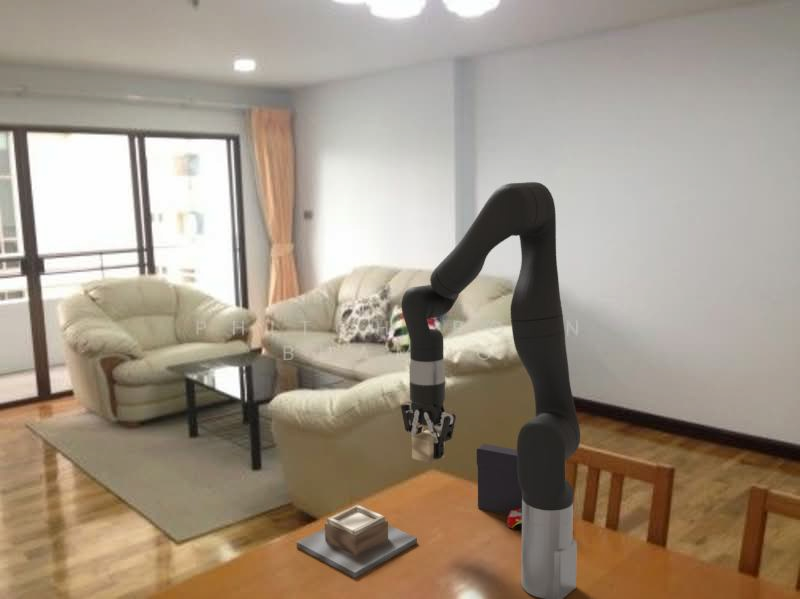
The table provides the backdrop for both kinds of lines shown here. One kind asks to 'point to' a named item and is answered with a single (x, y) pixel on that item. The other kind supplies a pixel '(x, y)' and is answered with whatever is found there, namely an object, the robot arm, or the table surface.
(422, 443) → the maple cube
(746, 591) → the table surface
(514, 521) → the race car
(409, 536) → the plate
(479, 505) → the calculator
